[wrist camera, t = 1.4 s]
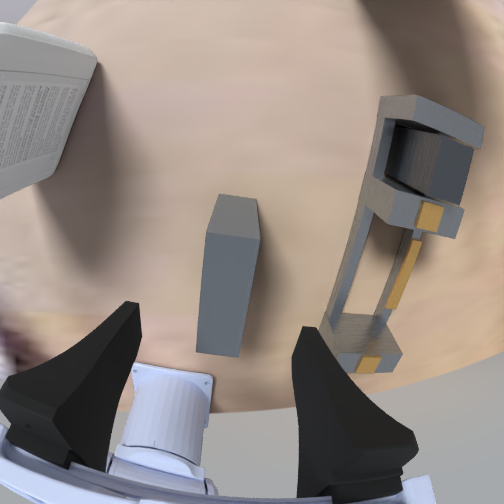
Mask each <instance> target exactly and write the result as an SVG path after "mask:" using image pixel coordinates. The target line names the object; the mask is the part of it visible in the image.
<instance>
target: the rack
mask: <svg viewBox="0 0 504 504" xmlns="http://www.w3.org/2000/svg"><path fill="white" fill-rule="evenodd" d="M377 117H378V118H377V123H376V128H375V133H374V138H373V143H372V148H371V152H370V157H369V161H368V165H367V170H366V172H365V175H364V180H363V184H362V188H361V192H360V196H359V202H358V206H357V210H356V214H355V217H354V221H353V225H352V228H351V232H350V236H349V239H348V242H347V246H346V249H345V253H344V256H343V259H342V263H341V266H340V269H339V272H338V276H337V279H336V282H335V285H334V288H333V291H332V294H331V297H330V300H329V303H328V306H327V309H326V312H325V313H324V316H323V319H322V322H321V325H320V328H319V333H320V334H321V336H322V338H323V339H324V341H325V343H326V344H327V346H328V347H329V349H330V351H331V352H332V354H333V355H334V357H335V358H336V359H337V361H338V362H339V364H340V365H341V367H342V368H343V369H344V371H345V372H346V373H383V372H393V370H394V368H395V367H396V365H397V363H398V361H399V360H400V358H401V356H402V354H403V353H402V352H401V350H400V348H399V346H398V344H397V342H396V341H395V339H394V337H393V335H392V333H391V332H390V330H389V328H388V326H387V324H386V323H387V321H388V318H389V316H390V314H391V312H392V309H396V308H397V305H398V303H399V301H400V298H401V296H402V294H403V291H404V289H405V287H406V284H407V282H408V279H409V277H410V274H411V272H412V269H413V266H414V264H415V261H416V258H417V256H418V253H419V250H420V247H421V244H422V241H421V240H420V237H421V234H422V232H427V233H431V234H436V235H440V236H444V237H449V238H453V239H455V237H456V234H457V232H458V229H459V226H460V223H461V220H462V216H463V213H464V209H462V208H461V207H459V206H457V205H460V202H461V198H462V195H463V191H464V188H465V184H466V180H467V176H468V172H469V168H470V164H471V160H472V155H473V151H474V149H472V148H470V147H474V148H477V149H480V148H481V143H482V138H483V133H484V126H482V125H480V124H478V123H476V122H475V121H473V120H471V119H469V118H467V117H465V116H463V115H461V114H459V113H457V112H455V111H453V110H451V109H449V108H446V107H444V106H442V105H440V104H438V103H436V102H433V101H431V100H429V99H426V98H424V97H422V96H419V95H397V96H381V98H380V104H379V109H378V115H377ZM395 123H398V124H401V125H403V126H406V127H409V128H412V129H415V130H412V129H406V128H399V127H394V126H395ZM390 145H391V146H390ZM465 145H466V146H465ZM468 146H470V147H468ZM388 154H389V155H388ZM385 167H386V168H385ZM384 171H385V172H384ZM384 173H386V174H388V175H390V176H392V177H394V178H396V179H398V180H400V181H398V180H394V179H390V178H387V177H383V176H384ZM401 181H402V182H401ZM455 204H457V205H455ZM374 213H375V214H376V215H377V216H379V217H380V218H381V219H382V220H383V221H384V222H385V223H387V224H389V225H394V226H399V227H404V228H406V229H405V232H404V235H403V238H402V241H401V244H400V247H399V250H398V253H397V256H396V259H395V261H394V264H393V267H392V270H391V272H390V275H389V278H388V280H387V283H386V286H385V288H384V291H383V293H382V296H381V298H380V301H379V303H378V306H377V308H376V310H375V313H374V315H362V314H349V313H341V312H342V309H343V307H344V304H345V301H346V298H347V296H348V293H349V290H350V287H351V284H352V281H353V278H354V275H355V272H356V269H357V266H358V263H359V260H360V257H361V254H362V251H363V248H364V244H365V241H366V238H367V234H368V231H369V228H370V224H371V221H372V217H373V214H374Z"/></svg>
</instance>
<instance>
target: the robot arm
mask: <svg viewBox="0 0 504 504" xmlns="http://www.w3.org/2000/svg"><path fill="white" fill-rule="evenodd" d="M141 339H142V331H141V320H140V309H139V303H135V302H129V301H126V302H124V303H123V304H122V305H121V306H120V307H119V308H118V309H117V310H116V311H115V312H113V313H112V314H111V315H110V316H109V317H108V318H107V319H106V320H105V321H104V322H102V323H101V324H100V325H99V326H98V327H97V328H96V329H95V330H93V331H92V332H91V333H90V334H88V335H87V336H86V337H85V338H83V339H82V340H81V341H79V342H78V343H77V344H75V345H74V346H72V347H71V348H69V349H68V350H66V351H65V352H63V353H62V354H60V355H58V356H56V357H54V358H53V359H51V360H49V361H47V362H45V363H43V364H41V365H39V366H36V367H34V368H31V369H29V370H26V371H23V372H20V373H17V374H14V375H11V376H8V378H7V379H6V381H5V382H4V384H3V386H2V388H1V389H0V410H1V412H2V413H3V414H4V415H5V417H6V418H7V419H8V420H9V422H10V423H11V426H10V428H9V429H8V428H7V427H5V426H4V425H2V424H1V423H0V484H2V485H4V486H5V487H7V488H8V489H10V490H12V491H14V492H15V493H17V494H19V495H21V496H23V497H25V498H26V499H28V500H30V501H32V502H34V503H36V504H436V500H435V496H434V492H433V488H432V485H431V481H430V477H429V475H428V474H425V475H421V476H417V477H413V478H409V479H406V480H403V481H401V478H400V476H401V475H403V470H402V466H404V465H405V464H406V463H407V462H409V461H410V460H411V459H412V458H414V457H415V456H416V454H417V453H418V450H419V448H418V445H417V441H416V438H415V435H414V433H413V431H412V430H410V429H408V428H407V427H405V426H404V425H402V424H400V423H399V422H397V421H396V420H394V419H393V418H392V417H390V416H389V415H388V414H386V413H385V412H384V411H383V410H381V409H380V408H379V407H378V406H377V405H376V404H375V403H373V402H372V401H371V400H370V399H369V398H368V397H367V396H366V395H365V394H364V393H363V392H362V391H361V390H360V389H359V388H358V387H357V385H356V384H355V383H354V382H353V381H352V380H351V379H350V377H349V376H348V375H347V373H346V372H345V371H344V369H343V368H342V367H341V365H340V364H339V362H338V361H337V359H336V358H335V357H334V355H333V354H332V352H331V351H330V349H329V347H328V346H327V344H326V343H325V341H324V339H323V338H322V336H321V334H320V333H319V331H318V330H317V328H316V327H306V326H303V327H302V330H301V332H300V335H299V338H298V341H297V344H296V346H295V349H294V352H293V355H292V381H293V388H294V395H295V402H296V408H297V416H298V425H299V468H298V486H297V498H286V499H285V498H284V499H271V498H270V499H269V498H242V497H241V498H240V497H227V496H219V495H218V490H217V488H216V486H215V485H214V484H213V482H212V480H211V479H207V478H204V475H205V468H203V467H200V461H201V450H202V440H203V430H204V428H207V427H208V420H209V411H210V402H211V393H212V385H213V377H212V376H211V375H209V374H202V373H195V372H188V371H182V370H176V369H170V368H164V367H158V366H153V365H147V364H142V363H137V362H134V361H135V359H136V356H137V353H138V350H139V346H140V342H141ZM130 371H131V372H132V379H133V385H134V391H135V396H134V399H133V402H132V406H131V409H130V412H129V416H128V419H127V422H126V426H125V429H124V432H123V436H122V439H121V443H120V445H117V448H116V452H115V455H114V454H113V453H111V452H108V450H109V444H110V439H111V433H112V428H113V423H114V419H115V415H116V411H117V407H118V403H119V400H120V397H121V394H122V391H123V389H124V386H125V384H126V381H127V379H128V376H129V374H130Z"/></svg>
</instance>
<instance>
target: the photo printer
mask: <svg viewBox="0 0 504 504" xmlns="http://www.w3.org/2000/svg"><path fill="white" fill-rule="evenodd" d="M96 64H97V57H95V56H94V54H93V52H92V51H91V50H90V49H89V48H88V47H86V46H84V45H81V44H78V43H75V42H72V41H69V40H66V39H63V38H60V37H57V36H54V35H51V34H47V33H44V32H41V31H37V30H33V29H30V28H26V27H22V26H18V25H13V24H9V23H4V22H0V199H2V198H4V197H6V196H8V195H10V194H12V193H14V192H16V191H19V190H21V189H23V188H25V187H27V186H30V185H32V184H34V183H37V182H39V181H41V180H44V179H46V178H48V177H50V176H51V175H52V174H53V173H54V171H55V169H56V167H57V165H58V163H59V160H60V157H61V155H62V152H63V149H64V146H65V144H66V141H67V138H68V135H69V132H70V130H71V127H72V124H73V122H74V119H75V116H76V114H77V111H78V109H79V106H80V104H81V102H82V99H83V97H84V94H85V92H86V90H87V87H88V85H89V82H90V80H91V77H92V75H93V72H94V70H95V67H96Z"/></svg>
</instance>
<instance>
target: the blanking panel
mask: <svg viewBox="0 0 504 504" xmlns="http://www.w3.org/2000/svg"><path fill="white" fill-rule="evenodd" d="M259 245H260V231H259V221H258V212H257V203H256V199H252V198H245V197H238V196H231V195H224V194H219V195H218V198H217V201H216V204H215V207H214V210H213V213H212V216H211V219H210V222H209V225H208V228H207V231H206V239H205V249H204V259H203V269H202V280H201V291H200V303H199V316H198V329H197V344H196V352H198V353H205V354H213V355H221V356H229V357H238V358H239V353H240V347H241V342H242V337H243V331H244V326H245V321H246V315H247V310H248V304H249V299H250V294H251V288H252V283H253V277H254V272H255V267H256V261H257V256H258V250H259Z"/></svg>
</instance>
